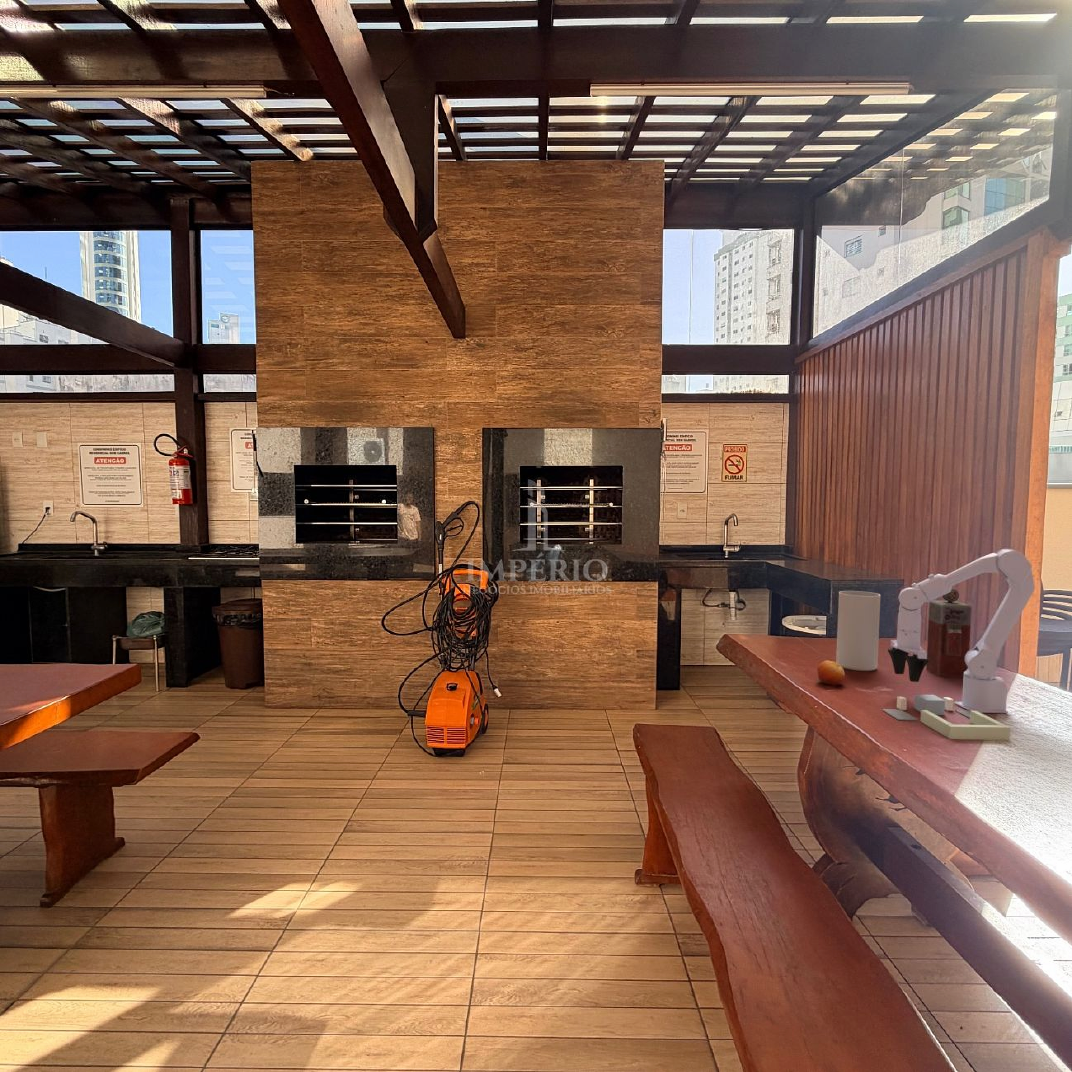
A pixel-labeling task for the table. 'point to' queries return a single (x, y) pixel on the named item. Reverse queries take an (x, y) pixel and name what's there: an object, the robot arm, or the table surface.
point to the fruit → (830, 673)
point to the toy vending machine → (948, 636)
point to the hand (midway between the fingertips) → (906, 677)
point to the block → (930, 704)
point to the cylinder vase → (858, 630)
